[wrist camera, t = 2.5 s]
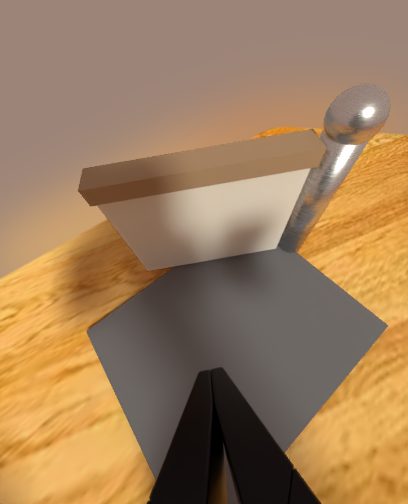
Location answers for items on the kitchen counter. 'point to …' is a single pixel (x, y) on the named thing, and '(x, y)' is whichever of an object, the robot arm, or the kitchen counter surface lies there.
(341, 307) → the mat
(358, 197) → the kitchen counter surface
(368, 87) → the gate post
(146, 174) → the panel
